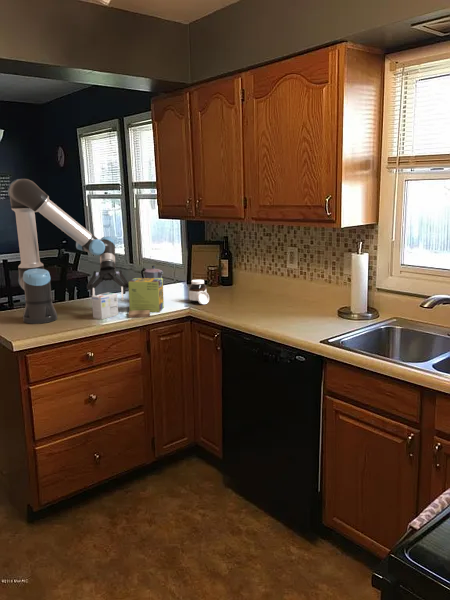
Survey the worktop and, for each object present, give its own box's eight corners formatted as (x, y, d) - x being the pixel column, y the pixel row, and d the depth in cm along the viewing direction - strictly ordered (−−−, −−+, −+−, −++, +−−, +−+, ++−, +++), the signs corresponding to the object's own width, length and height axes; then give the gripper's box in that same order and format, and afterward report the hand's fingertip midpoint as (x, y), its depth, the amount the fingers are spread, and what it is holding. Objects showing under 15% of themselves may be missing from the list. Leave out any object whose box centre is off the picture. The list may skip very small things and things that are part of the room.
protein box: (159, 312, 260) (158, 281, 256) (129, 312, 261) (127, 281, 258) (164, 307, 270) (163, 278, 266) (134, 307, 271) (133, 277, 268)
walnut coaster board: (128, 317, 250) (128, 314, 250) (129, 313, 258) (128, 310, 257) (149, 316, 251) (149, 313, 251) (149, 312, 259) (149, 309, 259)
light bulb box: (109, 313, 259) (108, 291, 257) (118, 315, 255) (117, 293, 253) (92, 317, 251) (90, 295, 248) (101, 319, 247) (100, 297, 245)
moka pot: (158, 305, 275) (157, 267, 270) (135, 302, 282) (134, 265, 278) (169, 301, 283) (168, 265, 279) (146, 299, 290) (145, 263, 286)
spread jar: (196, 299, 288) (195, 278, 286) (214, 301, 283) (214, 280, 281) (185, 304, 278) (184, 282, 275) (204, 306, 273) (203, 283, 270)
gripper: (133, 267, 270) (134, 302, 259) (83, 269, 266) (82, 305, 255) (132, 258, 264) (134, 294, 253) (81, 260, 260) (80, 296, 249)
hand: (108, 299), depth 254 cm, fingers open, 13 cm apart
